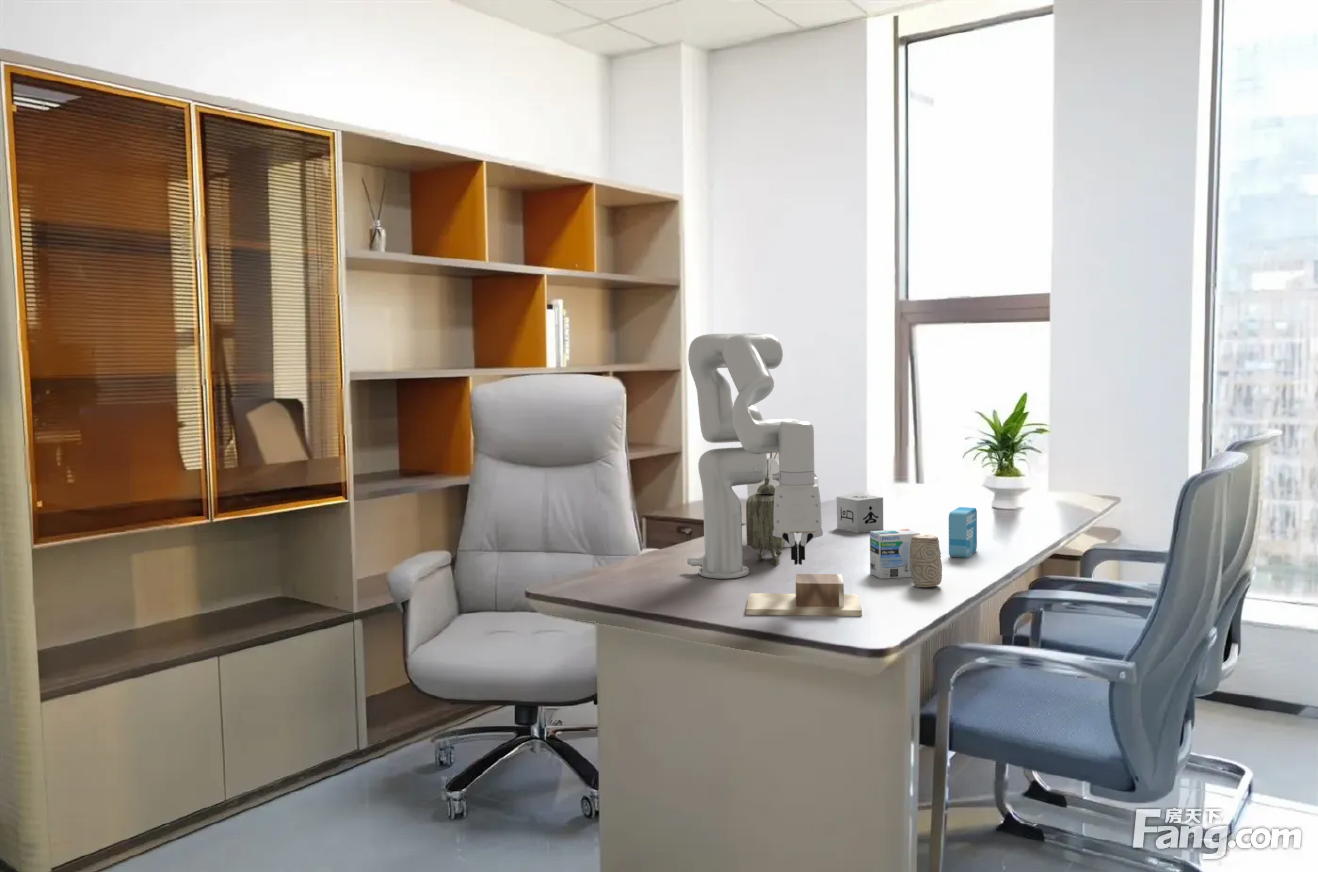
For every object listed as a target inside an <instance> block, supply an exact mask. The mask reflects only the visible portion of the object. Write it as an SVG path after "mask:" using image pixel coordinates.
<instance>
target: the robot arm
mask: <svg viewBox="0 0 1318 872" xmlns="http://www.w3.org/2000/svg"><path fill="white" fill-rule="evenodd" d="M687 355H688V358H687V359H688V360H687V361H688V366H689V370H690V374H691V376H692V379H693V382H694V385H695V388H696V396H697V405H698V406H697V407H698V416H699V417H698V418H699V425H700V432H701V436H702V438H703V439H704V441H705V442H708V443H711V444H722V443H723V444H725V443H728V444H729V443H740V444H741V446H742V447H721V448H720V447H719V448H713V449H709V450H707V451H705V452H704V453H703V454H701V455H700V457H699V460H698V464H697V465H698V476H699V479H700V483H701V492H702V504H703V505H702V508H703V509H702V510H703V512H702V513H703V535H704V537H703V538H704V539H703V541H704V542H703V543H704V545H703V547H704V548H703V549H704V554H703V555H702V556H699V557H687V559H686V560H687V561H686V563H687V564H686V565H687V566H691V567H700V568H698V574H699V576H701V577H704V578H708V579H725V580H726V579H736V578H737V579H738V578H742V577H746V576H748V575H749V573H750V570H749V569H750V568H749V567H747V566H745V565H743V561H744V560H743V528H742V527H743V523H742V522H743V521H742V519H743V518H742V517H743V515H742V514H743V513H742V502H741V500H740V498H739V496H738V495H737V493H736V492H735V491H734V489H733V487H736V486H737V487H738V486H746V485H748V484H757V483H760V482H762V481H763V480H764V479H765V477H766V475H767V458H768V456H767V455H768V454H770V453H779V462H778V465H779V472H778V473H776V474H772V478H773V480H776V481H778V482H779V485H777V486H776V488H775V495H774V515H773V521H774V530H773V536H776V537H780V538H784V539H785V540H786V541H787V542H788V543H789V544H790V546H791V547H790V560H791V561H794V565H801V566H802V565H803V561H806V545H807V544H808V543H809V542H810V541H812V539H815V538H820V537H822V536H823V535H824V532H823V528H822V524H823V523H822V506H821V505H822V504H821V495H820V489H819V484H818V485H816V484H815V481H814V473H815V435H814V434H815V433H814V431H815V430H814V426H813V424H812V423H811V422H809V421H805V420H804V421H802V420H797V419H795V418H770V419H769V418H767V419H763V416H762V414H761V412H760V410H759V409H758V408H757V407H756V406H754V405H756V404H758V403H760V402H762V401H763V400H765V398H766V399H767V397H768V396H770V394H771V393H772V392H773V389H774V388H775V381H774V379H773V376H772V374H771V372H770V370H774V369H777V368H778V367H779V366H780V365H781V363H782V360H783V357H784V356H783V355H784V354H783V348H782V345H781V343H780V341H779V339H778V338H777V337H776V336H774V335H772V334H769V333H751V332H750V333H749V332H748V333H745V332H744V333H710V334H709V333H708V334H701V335H699V336H697V337H695V338H694V339H693V340H692V341H691V342H690V344H689V348H688V353H687ZM718 369H727V371H728V373H729V374H730V377H731V379H732V381H733V384H734V386H735V388H736V389H737V392H738V394H737V396H736V397H735V400H734V402H733V400H732V399H733V398H732V389H731V384H730V383H729V382H728V380H727V378H726V377H725V376H724V374H723V373H722V372H720V371H719V370H718ZM794 533H802V535H801V541H800V542H799V544H797V542H796V541H795V537H794Z"/></svg>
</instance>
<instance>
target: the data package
mask: <svg viewBox="0 0 1318 872" xmlns="http://www.w3.org/2000/svg"><path fill="white" fill-rule="evenodd" d="M977 517H978V510H977V507H966V506H959V507H957V508H955V509H953V510H952V511H950V512H949V513H948V555H949V557H952V558H962V559H967V558H969V557H970V556H971V555H973V554H974V553H976V552H977V549H978V524H977V523H978V518H977Z"/></svg>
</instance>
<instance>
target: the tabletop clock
mask: <svg viewBox="0 0 1318 872" xmlns="http://www.w3.org/2000/svg"><path fill="white" fill-rule="evenodd" d="M757 492H758V493H756V494H754V495H752V496H750V497H749V498H748V497H747V499H746V503H745V504H746V505H745V509H746V510H745V515H746V516H745V517H746V518H745V521H746V523H745V526H746V529H745V530H746V531H745V532H746V545H747V546H748V547H750V548H752V549H753V550H759V551H758V553H757V555H756V556H755V558H756V560H757V561H761V560H762V559H763V555H762V552H763V550H767V551H768V552H769V553H770V555H771V557H772V560H771V562H772V564H773V565H777V564H778V563H779V559H778V558H777V557H779V556H781V555H782V551H781V550H783V549H784V548H785V547H784V544H785V539H784V538H780V537H776V536H773V530H774V521H773V515H774V495H775V487H774V486H773V485H771V484H769V480H768V467H767V477H765V484H763V485H760V486H759V488H758V490H757ZM774 550H775V553H774ZM775 555H776V556H777V557H776V556H775Z"/></svg>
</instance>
